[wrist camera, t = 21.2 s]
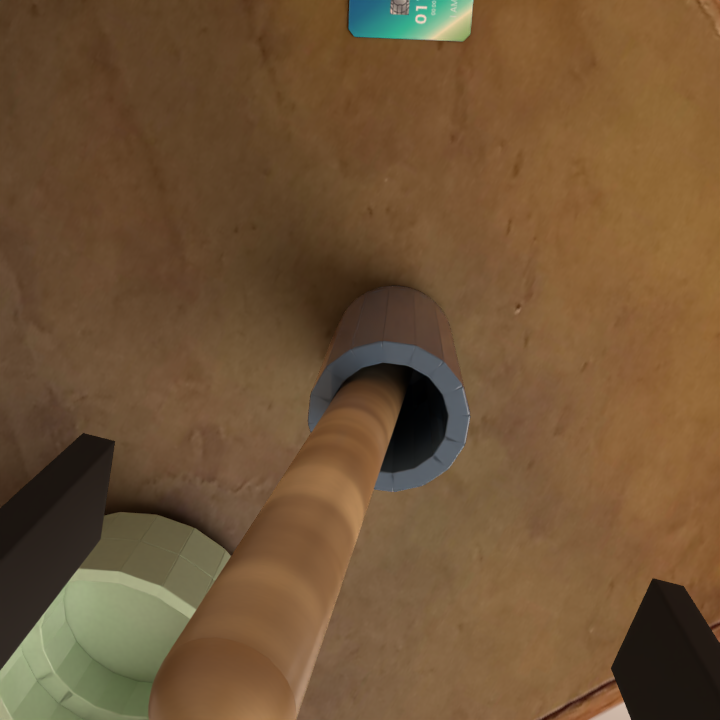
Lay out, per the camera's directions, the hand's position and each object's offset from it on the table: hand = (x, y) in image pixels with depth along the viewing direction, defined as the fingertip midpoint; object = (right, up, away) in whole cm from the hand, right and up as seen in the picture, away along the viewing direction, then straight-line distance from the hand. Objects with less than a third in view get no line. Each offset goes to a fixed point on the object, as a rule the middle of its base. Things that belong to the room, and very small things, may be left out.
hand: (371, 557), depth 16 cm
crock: (+1, +6, +18) cm, 19 cm away
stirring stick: (+1, +5, +17) cm, 18 cm away
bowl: (-13, -10, +24) cm, 29 cm away
